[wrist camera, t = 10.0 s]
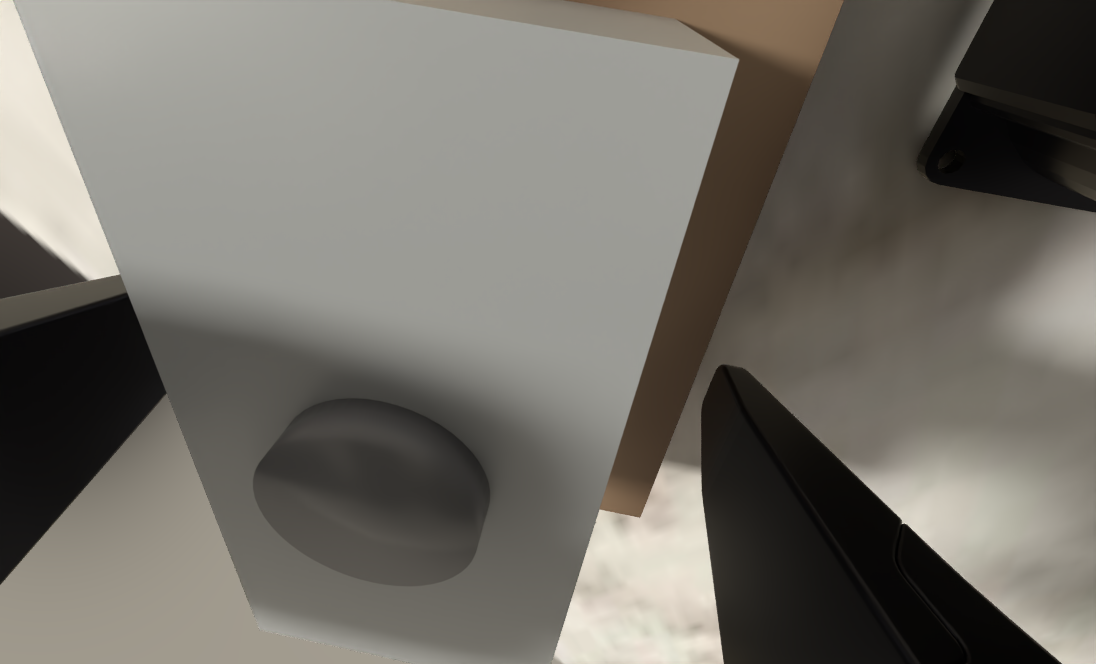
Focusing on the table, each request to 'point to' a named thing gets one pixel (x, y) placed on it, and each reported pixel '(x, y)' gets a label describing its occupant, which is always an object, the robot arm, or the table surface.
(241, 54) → the block
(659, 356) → the walnut stand
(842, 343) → the table surface
